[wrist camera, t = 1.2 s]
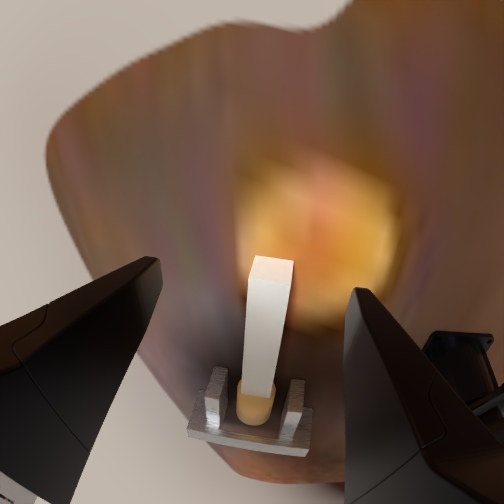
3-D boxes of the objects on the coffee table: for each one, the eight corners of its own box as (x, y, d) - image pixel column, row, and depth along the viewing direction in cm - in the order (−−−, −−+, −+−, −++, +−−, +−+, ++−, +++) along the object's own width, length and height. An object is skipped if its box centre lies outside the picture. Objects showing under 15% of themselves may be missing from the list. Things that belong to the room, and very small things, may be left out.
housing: (323, 382, 26) (321, 428, 22) (308, 417, 29) (304, 456, 25) (197, 362, 27) (180, 404, 23) (201, 399, 30) (188, 436, 26)
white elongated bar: (249, 254, 20) (238, 284, 17) (300, 261, 20) (297, 293, 17) (239, 394, 29) (233, 422, 26) (272, 400, 28) (268, 428, 26)
